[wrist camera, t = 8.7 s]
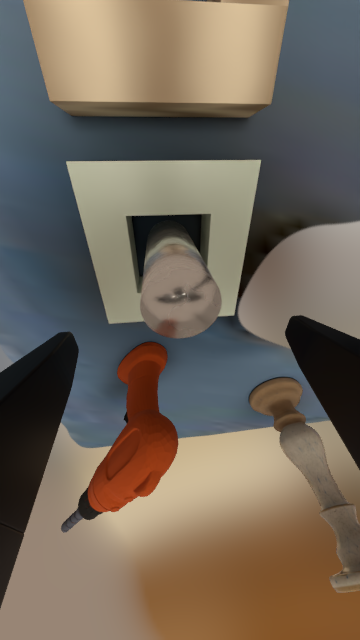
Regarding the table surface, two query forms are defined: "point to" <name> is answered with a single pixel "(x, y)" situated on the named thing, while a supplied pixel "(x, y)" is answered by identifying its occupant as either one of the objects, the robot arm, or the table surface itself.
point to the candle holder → (313, 472)
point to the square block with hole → (163, 199)
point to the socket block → (158, 55)
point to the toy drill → (133, 441)
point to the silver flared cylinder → (177, 284)
